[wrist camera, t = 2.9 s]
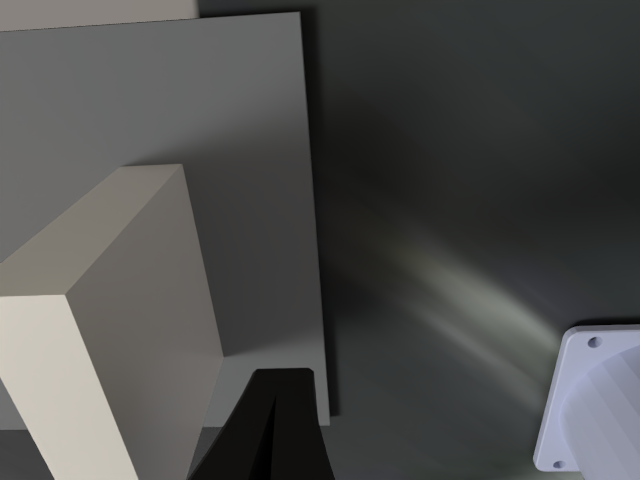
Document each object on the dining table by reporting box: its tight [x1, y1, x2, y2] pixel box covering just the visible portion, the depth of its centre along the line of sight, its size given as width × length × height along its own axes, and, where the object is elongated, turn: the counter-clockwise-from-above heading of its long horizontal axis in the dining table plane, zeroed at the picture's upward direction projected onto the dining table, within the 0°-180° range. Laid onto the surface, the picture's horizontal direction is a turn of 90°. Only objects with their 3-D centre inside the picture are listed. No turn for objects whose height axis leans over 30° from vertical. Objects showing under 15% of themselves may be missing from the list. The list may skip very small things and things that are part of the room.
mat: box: [0, 12, 330, 430], centre depth 17 cm, size 16×16×1 cm
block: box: [0, 164, 224, 480], centre depth 13 cm, size 2×8×7 cm, turn 4°
